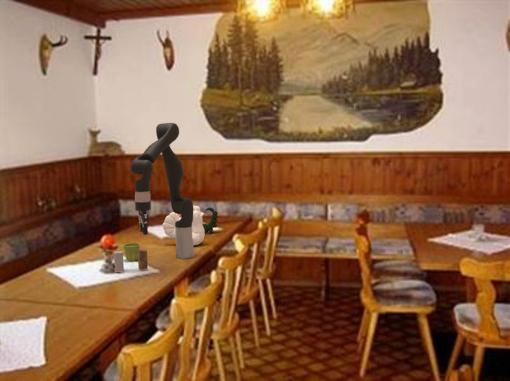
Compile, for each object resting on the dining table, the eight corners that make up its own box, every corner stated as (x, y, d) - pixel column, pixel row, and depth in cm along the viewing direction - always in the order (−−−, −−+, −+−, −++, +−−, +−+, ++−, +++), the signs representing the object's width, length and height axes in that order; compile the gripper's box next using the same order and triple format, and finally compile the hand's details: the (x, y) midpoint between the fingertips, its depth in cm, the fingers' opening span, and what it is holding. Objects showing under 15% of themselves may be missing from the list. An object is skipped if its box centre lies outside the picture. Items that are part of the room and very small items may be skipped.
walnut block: (146, 267, 283) (145, 248, 282) (147, 269, 279) (147, 250, 278) (138, 268, 281) (137, 249, 280) (139, 270, 278) (139, 251, 277)
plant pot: (136, 262, 294) (136, 246, 293) (120, 261, 296) (119, 246, 295) (143, 258, 304) (143, 243, 303) (127, 257, 305) (127, 242, 304)
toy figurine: (217, 234, 378) (182, 230, 380) (219, 207, 376) (183, 203, 378) (215, 237, 369) (178, 233, 371) (216, 209, 366) (180, 205, 369)
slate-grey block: (122, 270, 279) (121, 251, 277) (123, 272, 275) (123, 252, 274) (114, 271, 277) (113, 251, 276) (115, 273, 273) (114, 253, 272)
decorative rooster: (207, 242, 343) (206, 203, 340) (200, 248, 327) (199, 207, 324) (169, 241, 347) (168, 203, 344) (160, 247, 332) (159, 206, 329)
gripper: (153, 201, 264) (154, 235, 265) (147, 198, 277) (149, 230, 279) (137, 202, 261) (138, 236, 263) (132, 199, 274) (134, 231, 276)
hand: (144, 233), depth 271 cm, fingers open, 8 cm apart
